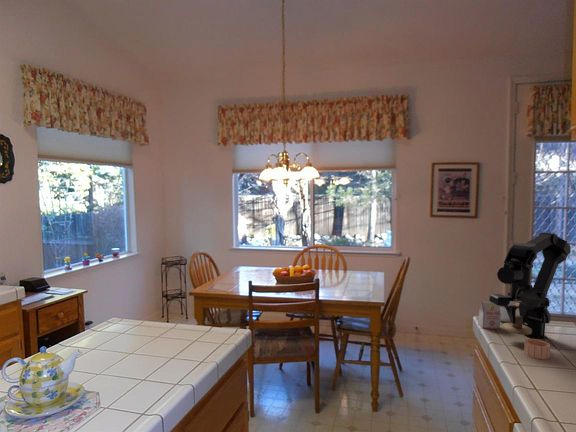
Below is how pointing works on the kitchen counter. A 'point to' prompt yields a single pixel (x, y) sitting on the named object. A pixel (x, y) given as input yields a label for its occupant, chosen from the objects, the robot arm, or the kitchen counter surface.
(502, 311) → the lidded jar
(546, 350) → the bucket
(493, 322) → the white red-printed box
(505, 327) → the lid
